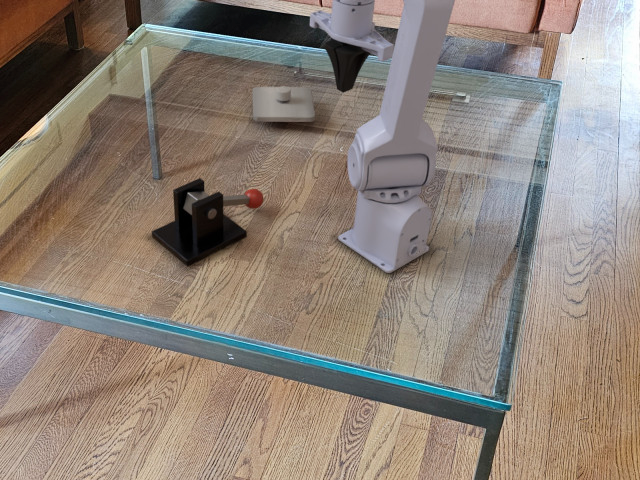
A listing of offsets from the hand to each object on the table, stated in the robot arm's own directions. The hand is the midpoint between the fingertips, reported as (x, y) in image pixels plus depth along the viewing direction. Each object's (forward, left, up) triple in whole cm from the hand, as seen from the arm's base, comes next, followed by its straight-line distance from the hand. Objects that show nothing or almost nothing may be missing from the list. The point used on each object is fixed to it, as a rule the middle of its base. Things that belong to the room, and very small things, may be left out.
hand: (344, 89), depth 122 cm
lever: (-4, +26, -8) cm, 27 cm away
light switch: (+13, 0, -11) cm, 17 cm away
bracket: (-4, +30, -10) cm, 32 cm away
